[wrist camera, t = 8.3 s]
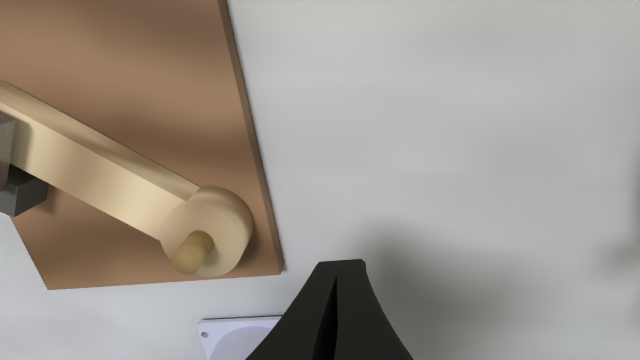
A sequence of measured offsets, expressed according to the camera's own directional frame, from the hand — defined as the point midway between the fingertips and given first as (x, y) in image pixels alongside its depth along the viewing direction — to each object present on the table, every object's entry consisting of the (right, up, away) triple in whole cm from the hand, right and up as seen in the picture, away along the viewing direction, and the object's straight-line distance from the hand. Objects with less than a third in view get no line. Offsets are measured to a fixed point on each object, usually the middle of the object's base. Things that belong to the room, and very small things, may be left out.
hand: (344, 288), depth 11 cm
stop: (-17, +3, +10) cm, 21 cm away
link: (-11, +3, +10) cm, 15 cm away
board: (-12, +5, +10) cm, 17 cm away
